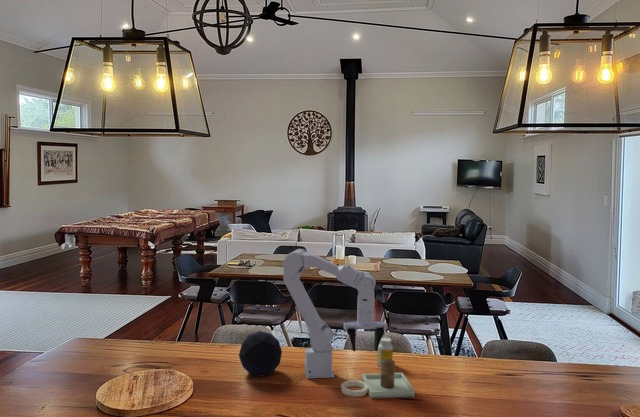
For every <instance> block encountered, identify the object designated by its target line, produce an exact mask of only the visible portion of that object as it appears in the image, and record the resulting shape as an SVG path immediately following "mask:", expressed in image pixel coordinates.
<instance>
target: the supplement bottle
mask: <svg viewBox="0 0 640 417" xmlns="http://www.w3.org/2000/svg"><path fill="white" fill-rule="evenodd" d="M393 350H394V347H393V345H392V339H391V338H390V337H382V338H381V340H380V343H379V346H378V351H377V365H378V366H379V367H380V368H381V360H383V359H391V360H393V357H394V356H393V355H394V354H393V353H394V352H393Z"/></svg>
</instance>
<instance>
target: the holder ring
mask: <svg viewBox="0 0 640 417" xmlns="http://www.w3.org/2000/svg"><path fill="white" fill-rule="evenodd" d="M349 387H359V388H362V389H355V390H354V389H351V388H349ZM340 390H341V393H342V394H343V395H346V396H349V397H364V396H365V395H367V394H368V387H367V385H366V383H364V382H363V381H362V380H351V379H350V380H345V381H344V382H342V383H341V384H340Z"/></svg>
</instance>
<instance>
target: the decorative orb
mask: <svg viewBox="0 0 640 417" xmlns="http://www.w3.org/2000/svg"><path fill="white" fill-rule="evenodd" d="M238 353H239V354H238V357H239V360H240V363H241V365H242V368H243V369H244V370H245V371H247V373H249V375H253V376H257V377H264V376H267V375H269V374H271V373H273V372H274V371H275V370H277V368H278V366H280V364H281V361H282V360H281V359H282V353H283V350H282V347H281V345H280V341H279V339H277V337H275V336H274V335H273V334H272V333H269V332H266V331H261V330H260V331H256V332H254V333H251V334H249V335H247V336H246V338H245V339H244V341H243V342H242V343H241V345H240V348H239V352H238Z"/></svg>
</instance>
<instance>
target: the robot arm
mask: <svg viewBox="0 0 640 417" xmlns="http://www.w3.org/2000/svg"><path fill="white" fill-rule="evenodd" d="M282 266H283V278H282V280H283V283H284V285H285V286H286V288H287V290H288V292H289V294H290V297H291V298H292V300H293V302H294V303H295V306H296V307H297V309H298V311H299V313H300V315H301V317H302V319H303V320H304V323H305V324H306V326H307V335H308V337H309V339H310V340H309V342H310V346H311V347H310V348H305V351H304V352H305V353H304V371H305V377H306V379H324V378H325V379H326V378H327V379H329V378H335V374H334V371H333V346H332V344H331V342H332V341H333V339H334V337H335V336H334V331H333V329H332V328H331V327H329V326H328V325H327V323H326V322H325V321H324V319H322V318H321V316H320V315H319V313H318V311H317V310H316V307H315V305H314V303H313V302H312V299H311V298H310V296H309V295H308V292H307V291H306V288H305V286H304V285H303V283H302V281H301V279H300V278H301V275H302V272H303V270H304V269H308V268H310V269H311V268H316V269H319V270H321V271H324V272H326V273H329V274H332V275H334V276H335V277H336V279H337V281H338V282H341V283H343V284H345V285H347V286H349V287H352V288H353V289H356V290H357V291H358V292H357V305H356V306H357V307H356V308H357V310H356V311H357V312H356V321H350V322H349V321H348V322H343V330H344V331H346V332H347V333H348V336H349V340H350V343H351V350H352V351H353V352H356V339H357V338H356V337H357V333H356V330H373V331H374V343H373V346H374V350H375V352H378V346H379V344H381V343H380V340H381V338H383V336H384V335H385V330H388V323H387V321H375V300H376V298H375V287H376V283H377V282H376V278H375V277H374V276H373V275H372V274H371V273H369V272H365V271H363V270H362V271H359V270H358V269H355V268H353V267H352V265H351V264H347V265H346V264H343V265H340V266H339V265H338V264H335V263H333V262H332V261H329V260H327V259H325V258H324V257H322V256H319V255H317V254H315V253H314V252H311V251H308V250H307V251H306V250H305V249H303V248H297V249H295V250H293V251H292V252H290V253H287V255H286V256H285V258H284V259H283V262H282Z"/></svg>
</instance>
